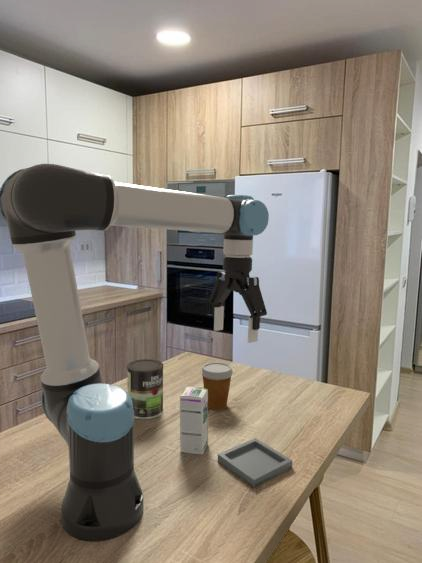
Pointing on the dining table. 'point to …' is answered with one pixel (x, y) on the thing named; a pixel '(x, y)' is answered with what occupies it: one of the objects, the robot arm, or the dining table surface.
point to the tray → (254, 462)
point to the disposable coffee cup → (217, 383)
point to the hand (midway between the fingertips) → (234, 335)
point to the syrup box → (194, 420)
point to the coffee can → (146, 388)
